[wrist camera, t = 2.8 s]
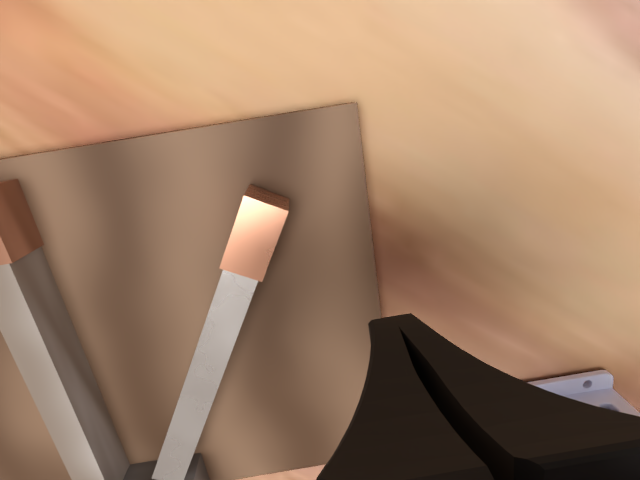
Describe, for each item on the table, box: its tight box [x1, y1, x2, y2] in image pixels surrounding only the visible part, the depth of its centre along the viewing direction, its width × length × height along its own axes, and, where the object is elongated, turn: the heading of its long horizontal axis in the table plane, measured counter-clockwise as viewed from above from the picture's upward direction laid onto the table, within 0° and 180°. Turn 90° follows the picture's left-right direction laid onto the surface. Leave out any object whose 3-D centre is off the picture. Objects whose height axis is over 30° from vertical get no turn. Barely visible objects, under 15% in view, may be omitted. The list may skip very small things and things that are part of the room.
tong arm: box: [152, 184, 289, 480], centre depth 18 cm, size 14×2×2 cm, turn 159°
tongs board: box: [0, 102, 381, 480], centre depth 18 cm, size 22×18×5 cm
